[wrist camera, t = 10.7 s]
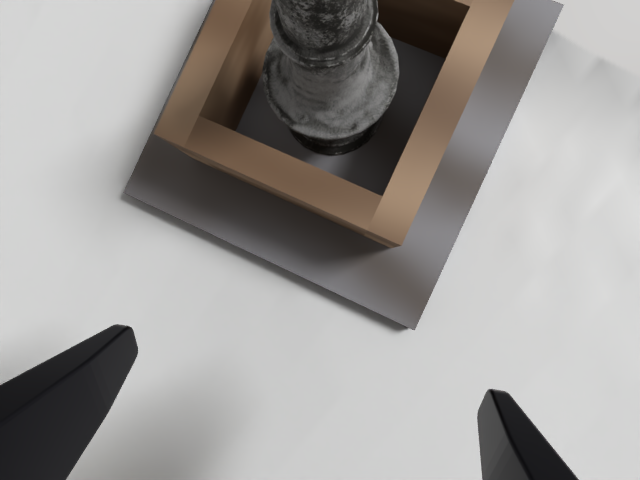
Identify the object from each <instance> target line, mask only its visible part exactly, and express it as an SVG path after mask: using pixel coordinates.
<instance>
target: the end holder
mask: <svg viewBox="0 0 640 480" xmlns="http://www.w3.org/2000/svg"><path fill="white" fill-rule="evenodd" d="M271 2H272V0H213V2H212V4H211V6H210V8H209V10H208V12H207V15H206V17H205V19H204V21H203V23H202V25H201V27H200V30H199V32H198V34H197V36H196V38H195V40H194V42H193V45H192V47H191V49H190V51H189V53H188V55H187V57H186V60H185V62H184V64H183V66H182V68H181V70H180V72H179V75H178V77H177V79H176V81H175V83H174V85H173V87H172V90H171V92H170V94H169V96H168V98H167V100H166V102H165V104H164V107H163V109H162V111H161V113H160V115H159V117H158V119H157V122H156V124H155V126H154V128H153V130H152V132H151V134H150V137H149V139H148V141H147V143H146V145H145V147H144V149H143V152H142V154H141V156H140V158H139V160H138V162H137V164H136V167H135V169H134V171H133V173H132V175H131V177H130V179H129V182H128V184H127V186H126V188H125V190H124V192H123V193H125V194H127V195H130V196H132V197H134V198H136V199H138V200H140V201H142V202H144V203H146V204H149V205H151V206H153V207H155V208H157V209H159V210H161V211H163V212H165V213H168V214H170V215H172V216H174V217H176V218H178V219H180V220H182V221H184V222H186V223H189V224H191V225H193V226H195V227H197V228H199V229H201V230H203V231H205V232H208V233H210V234H212V235H214V236H216V237H218V238H220V239H222V240H224V241H227V242H229V243H231V244H233V245H235V246H237V247H239V248H241V249H243V250H246V251H248V252H250V253H252V254H254V255H256V256H258V257H260V258H262V259H265V260H267V261H269V262H271V263H273V264H275V265H277V266H279V267H281V268H284V269H286V270H288V271H290V272H292V273H294V274H296V275H298V276H300V277H303V278H305V279H307V280H309V281H311V282H313V283H315V284H317V285H319V286H322V287H324V288H326V289H328V290H330V291H332V292H334V293H336V294H338V295H341V296H343V297H345V298H347V299H349V300H351V301H353V302H355V303H357V304H360V305H362V306H364V307H366V308H368V309H370V310H372V311H374V312H376V313H379V314H381V315H383V316H385V317H387V318H389V319H391V320H393V321H395V322H398V323H400V324H402V325H404V326H406V327H408V328H410V329H412V330H415V328H416V326H417V324H418V322H419V320H420V317H421V315H422V313H423V311H424V309H425V306H426V304H427V302H428V300H429V298H430V296H431V293H432V291H433V289H434V287H435V285H436V282H437V280H438V278H439V276H440V274H441V272H442V269H443V267H444V265H445V263H446V261H447V259H448V256H449V254H450V252H451V250H452V248H453V245H454V243H455V241H456V239H457V237H458V235H459V232H460V230H461V228H462V226H463V224H464V221H465V219H466V217H467V215H468V213H469V211H470V208H471V206H472V204H473V202H474V200H475V197H476V195H477V193H478V191H479V189H480V187H481V184H482V182H483V180H484V178H485V176H486V173H487V171H488V169H489V167H490V165H491V163H492V160H493V158H494V156H495V154H496V152H497V149H498V147H499V145H500V143H501V141H502V139H503V136H504V134H505V132H506V130H507V128H508V125H509V123H510V121H511V119H512V117H513V115H514V112H515V110H516V108H517V106H518V104H519V102H520V99H521V97H522V95H523V93H524V91H525V88H526V86H527V84H528V82H529V80H530V78H531V75H532V73H533V71H534V69H535V67H536V64H537V62H538V60H539V58H540V56H541V54H542V51H543V49H544V47H545V45H546V43H547V40H548V38H549V36H550V34H551V32H552V30H553V27H554V25H555V23H556V21H557V19H558V16H559V14H560V12H561V10H562V8H563V4H560V3H558V2H555V1H552V0H377V2H378V19H377V22H378V23H379V24H381V25H382V27H383V28H384V29H385V31H386V32H387V33H388V35H389V36H390V37H391V39H392V41H393V44H394V46H395V49H396V52H397V54H398V63H399V78H398V83H397V89H396V93H395V95H394V97H393V99H392V101H391V103H390V105H389V107H388V109H387V110H386V111H385V112H384V113H383V118H382V121H381V123H380V125H379V127H378V129H377V132H376V133H375V134H374V135H373V136H372V137H371V139H370V140H369V141H368V142H367V143H366V144H364V145H363V146H361V147H360V148H358V149H357V150H354V151H352V152H349V153H346V154H343V155H332V156H330V155H324V154H318V153H315V152H313V151H311V150H309V149H307V148H305V147H304V146H303V145H301V144H300V143H299V142H298V141H297V140H296V139H295V138H294V136H293V135H292V134H291V132H290V131H289V129H288V127H287V125H285V124H284V123H283V122H282V121H281V120H279V118H278V117H277V116H276V114H275V113H274V111H273V110H272V108H271V107H270V105H269V103H268V100H267V97H266V94H265V92H264V89H263V76H262V69H263V64H264V59H265V54H266V52H267V50H268V48H269V46H270V43H271V41H272V39H273V38H274V36H273V34H272V31H271V28H270V15H269V12H270V7H271Z"/></svg>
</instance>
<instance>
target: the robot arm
mask: <svg viewBox="0 0 640 480" xmlns="http://www.w3.org/2000/svg"><path fill="white" fill-rule="evenodd" d="M137 354H138V346H137V343H136V339H135V335H134V331H133V329H132V328H131V327H129V326H125V325H118V324H117V325H113V326H111V327H109V328H107V329H105V330H103V331H101V332H100V333H98V334H96V335H94V336H92V337H90V338H88V339H86V340H84V341H83V342H81V343H79V344H77V345H75V346H73V347H71V348H69V349H67V350H66V351H64V352H62V353H60V354H58V355H56V356H54V357H52V358H51V359H49V360H47V361H45V362H43V363H41V364H39V365H37V366H35V367H34V368H32V369H30V370H28V371H26V372H24V373H22V374H20V375H18V376H17V377H15V378H13V379H11V380H9V381H7V382H5V383H3V384H1V385H0V480H66V479H67V477H68V475H69V474H70V472H71V471H72V469H73V468H74V466H75V464H76V463H77V461H78V460H79V458H80V457H81V455H82V453H83V452H84V450H85V449H86V447H87V445H88V444H89V442H90V441H91V439H92V438H93V436H94V434H95V433H96V431H97V430H98V428H99V427H100V425H101V423H102V422H103V420H104V419H105V417H106V415H107V414H108V412H109V410H110V408H111V406H112V405H113V403H114V401H115V399H116V397H117V395H118V393H119V391H120V389H121V387H122V385H123V383H124V381H125V379H126V377H127V375H128V373H129V371H130V369H131V367H132V365H133V363H134V361H135V359H136V357H137ZM477 420H478V433H479V444H480V456H481V468H482V479H483V480H579V479H578V478H577V477H576V476H575V475H574V473H573V472H572V471H571V470H570V468H569V467H568V466H567V465H566V463H565V462H564V461H563V460H562V458H561V457H560V456H559V455H558V454H557V452H556V451H555V450H554V449H553V447H552V446H551V445H550V444H549V442H548V441H547V440H546V439H545V437H544V436H543V435H542V434H541V433H540V431H539V430H538V429H537V428H536V426H535V425H534V424H533V423H532V421H531V420H530V419H529V418H528V417H527V415H526V414H525V413H524V412H523V410H522V409H521V408H520V407H519V405H518V404H517V403H516V402H515V400H514V399H513V398H512V397H511V396H510V394H508V393H507V392H505V391H500V390H495V389H489V390H488V391H487V392H486V394H485V396H484V398H483V401H482V403H481V405H480V408H479V410H478V416H477Z"/></svg>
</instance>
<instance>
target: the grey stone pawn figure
mask: <svg viewBox="0 0 640 480" xmlns="http://www.w3.org/2000/svg"><path fill="white" fill-rule="evenodd" d="M269 15H270V28H271V31H272V34H273V36H274V38H273V39H272V41H271V43H270V46H269V48H268V50H267V52H266V54H265V59H264V64H263V69H262V76H263V89H264V92H265V94H266V97H267V100H268V103H269V105H270V107H271V108H272V110H273V111H274V113H275V114H276V116H277V117H278V118H279V120H281V121H282V122H283V123H284V124H285V125H287V127H288V129H289V131H290V132H291V134H292V135H293V136H294V138H295V139H296V140H297V141H298V142H299V143H300V144H301V145H303V146H304V147H305V148H307V149H309V150H311V151H313V152H315V153H318V154H324V155H330V156H332V155H343V154H346V153H349V152H352V151H354V150H357V149H358V148H360V147H361V146H363V145H364V144H366V143H367V142H368V141H369V140H370V139H371V137H372V136H373V135H374V134H375V133H376V132H377V129H378V127H379V125H380V123H381V121H382V118H383V113H384V112H385V111H386V110H387V109H388V107H389V105H390V103H391V101H392V99H393V97H394V95H395V93H396V89H397V83H398V78H399V63H398V54H397V52H396V49H395V46H394V44H393V41H392V39H391V37H390V36H389V35H388V33H387V32H386V31H385V29H384V28H383V27H382V25H381V24H379V23H378V22H377V19H378V2H377V0H272V2H271V7H270V12H269Z"/></svg>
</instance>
